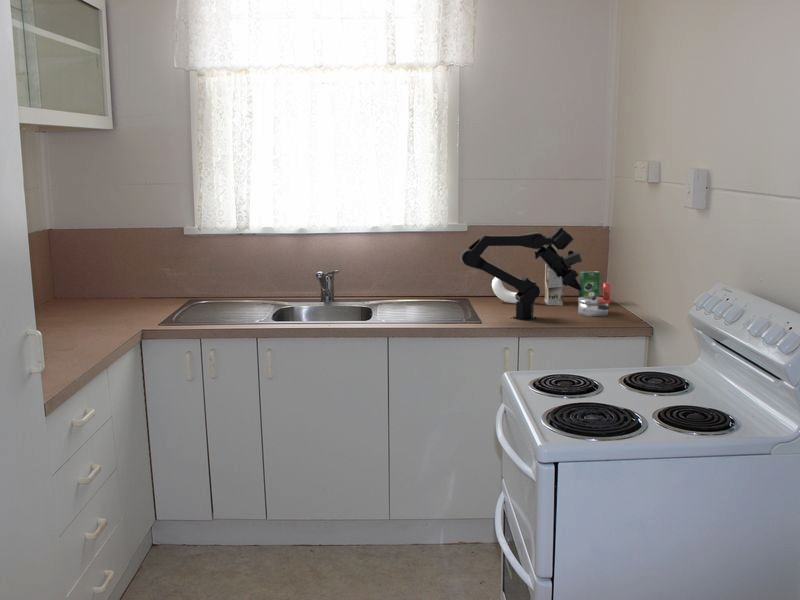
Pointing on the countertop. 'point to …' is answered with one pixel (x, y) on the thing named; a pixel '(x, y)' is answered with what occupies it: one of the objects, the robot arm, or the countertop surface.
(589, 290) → the coffee box
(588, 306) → the pot
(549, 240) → the robot arm
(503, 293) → the banana
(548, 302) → the coffee box
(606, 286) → the lid
